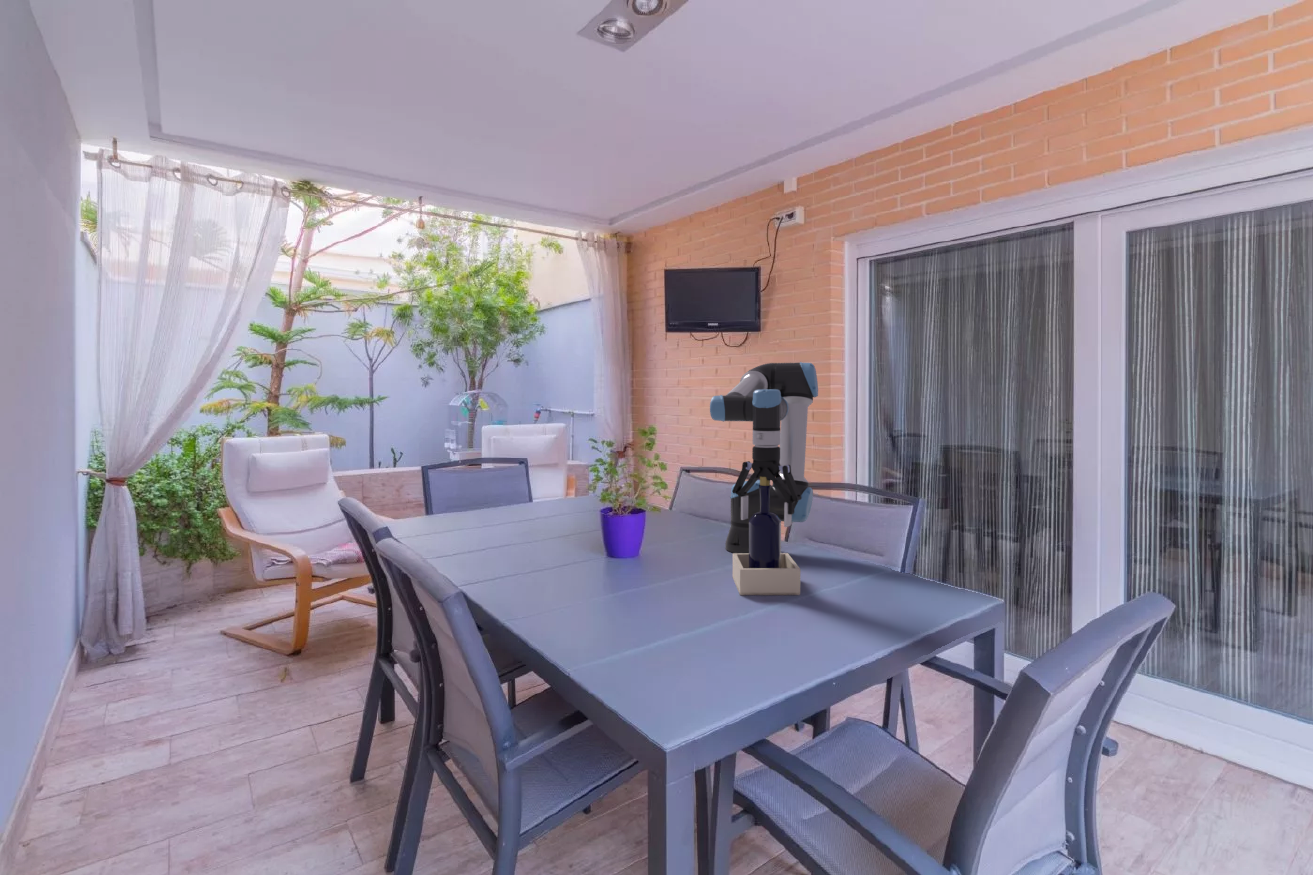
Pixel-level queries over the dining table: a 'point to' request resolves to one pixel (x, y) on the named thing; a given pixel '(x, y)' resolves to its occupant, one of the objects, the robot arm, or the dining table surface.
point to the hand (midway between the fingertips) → (765, 522)
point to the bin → (766, 577)
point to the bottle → (764, 533)
